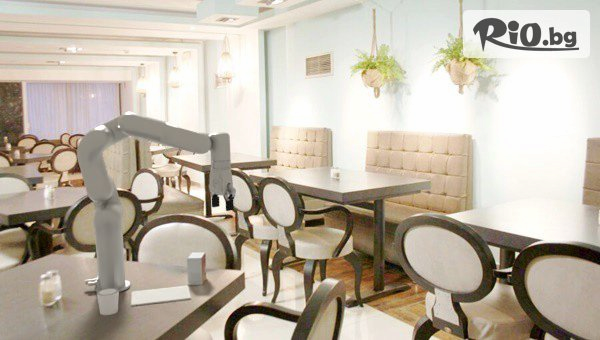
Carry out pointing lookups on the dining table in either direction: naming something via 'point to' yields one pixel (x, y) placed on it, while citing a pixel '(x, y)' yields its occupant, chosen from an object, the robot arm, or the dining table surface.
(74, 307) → the dining table surface
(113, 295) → the shot glass
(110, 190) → the robot arm
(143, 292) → the mat
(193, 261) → the small box
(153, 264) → the dining table surface
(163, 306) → the dining table surface
